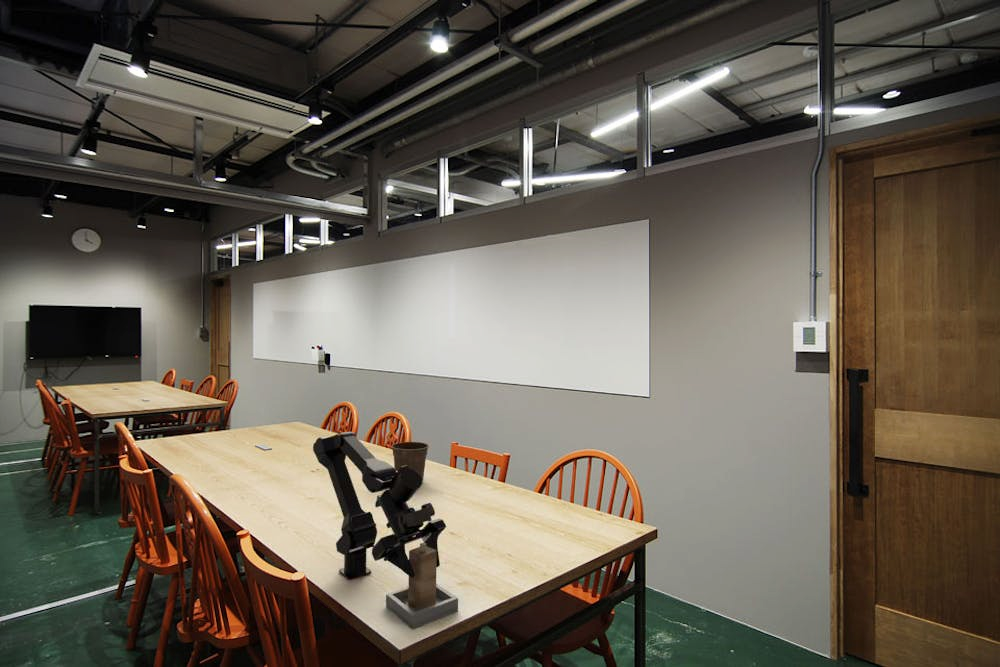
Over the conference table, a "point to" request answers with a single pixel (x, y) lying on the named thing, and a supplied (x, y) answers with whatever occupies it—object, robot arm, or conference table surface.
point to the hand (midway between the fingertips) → (426, 571)
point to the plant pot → (410, 456)
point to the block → (422, 577)
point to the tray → (415, 618)
